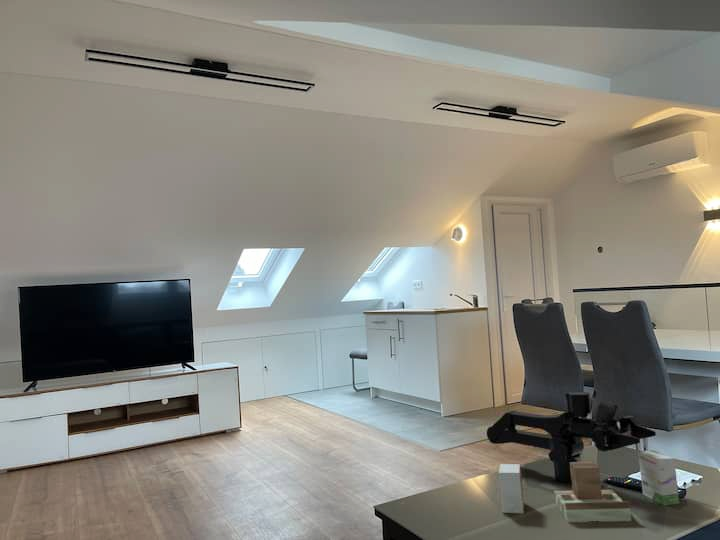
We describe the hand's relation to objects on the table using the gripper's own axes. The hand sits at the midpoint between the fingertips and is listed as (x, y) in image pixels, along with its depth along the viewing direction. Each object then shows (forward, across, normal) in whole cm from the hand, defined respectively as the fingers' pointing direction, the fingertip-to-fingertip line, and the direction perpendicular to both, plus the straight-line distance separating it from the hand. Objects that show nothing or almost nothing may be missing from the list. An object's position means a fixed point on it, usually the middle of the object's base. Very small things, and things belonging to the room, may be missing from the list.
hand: (647, 437), depth 140 cm
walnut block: (-10, -15, +14) cm, 23 cm away
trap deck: (-8, -17, +17) cm, 25 cm away
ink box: (+1, +2, +17) cm, 17 cm away
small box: (-24, -28, +17) cm, 41 cm away
